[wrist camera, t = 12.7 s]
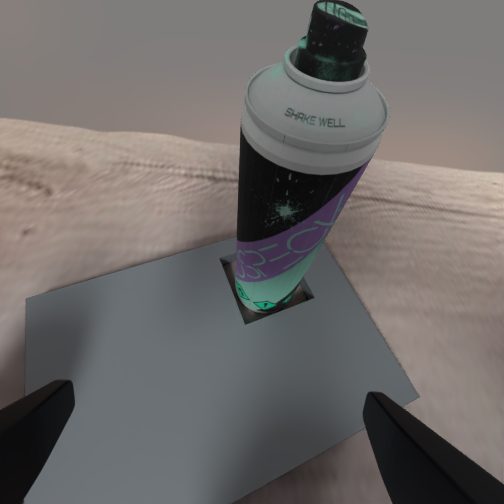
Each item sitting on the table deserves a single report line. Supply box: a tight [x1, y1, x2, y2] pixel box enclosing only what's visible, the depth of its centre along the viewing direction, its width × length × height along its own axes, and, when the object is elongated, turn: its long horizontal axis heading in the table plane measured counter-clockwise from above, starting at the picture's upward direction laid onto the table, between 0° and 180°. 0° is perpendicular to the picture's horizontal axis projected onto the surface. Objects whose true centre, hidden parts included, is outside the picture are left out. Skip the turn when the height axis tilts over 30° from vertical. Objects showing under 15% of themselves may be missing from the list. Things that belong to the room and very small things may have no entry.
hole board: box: [24, 237, 420, 504], centre depth 21 cm, size 18×26×2 cm
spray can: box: [235, 0, 390, 314], centre depth 16 cm, size 6×6×20 cm
